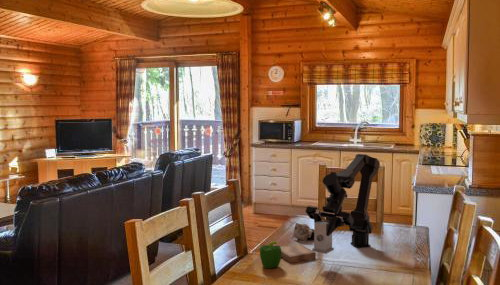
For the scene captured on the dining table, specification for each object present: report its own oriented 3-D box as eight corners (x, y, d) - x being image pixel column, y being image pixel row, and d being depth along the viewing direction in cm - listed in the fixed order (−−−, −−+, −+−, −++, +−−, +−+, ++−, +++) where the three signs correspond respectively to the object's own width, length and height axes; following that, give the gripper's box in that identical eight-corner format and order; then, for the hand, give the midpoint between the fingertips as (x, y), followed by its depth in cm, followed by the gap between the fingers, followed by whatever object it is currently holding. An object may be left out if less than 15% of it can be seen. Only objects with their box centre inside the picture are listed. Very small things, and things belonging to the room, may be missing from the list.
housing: (320, 246, 192) (320, 219, 191) (333, 249, 189) (334, 221, 187) (312, 250, 187) (312, 222, 186) (326, 253, 184) (326, 225, 183)
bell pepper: (255, 267, 188) (255, 242, 187) (266, 261, 195) (266, 236, 194) (273, 272, 184) (274, 246, 182) (285, 265, 190) (285, 240, 189)
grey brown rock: (319, 241, 229) (315, 244, 220) (297, 234, 233) (292, 237, 224) (323, 227, 229) (319, 230, 220) (300, 220, 233) (295, 222, 223)
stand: (300, 249, 209) (300, 243, 209) (315, 258, 198) (315, 252, 198) (275, 253, 204) (275, 247, 204) (289, 262, 193) (289, 256, 193)
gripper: (363, 215, 193) (350, 249, 186) (321, 208, 204) (307, 240, 197) (355, 199, 186) (341, 234, 179) (312, 193, 197) (297, 225, 190)
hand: (321, 234), depth 186 cm, fingers closed on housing, 5 cm apart
